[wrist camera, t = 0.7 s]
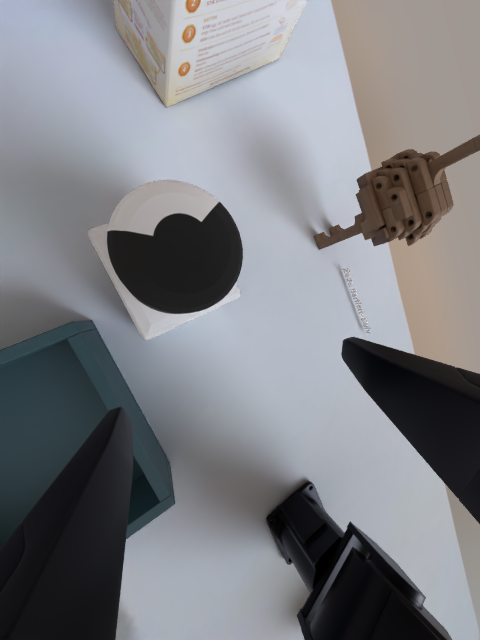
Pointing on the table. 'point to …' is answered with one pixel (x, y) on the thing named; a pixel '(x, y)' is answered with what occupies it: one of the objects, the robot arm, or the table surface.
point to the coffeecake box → (203, 40)
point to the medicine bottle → (170, 254)
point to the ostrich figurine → (401, 200)
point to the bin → (68, 422)
